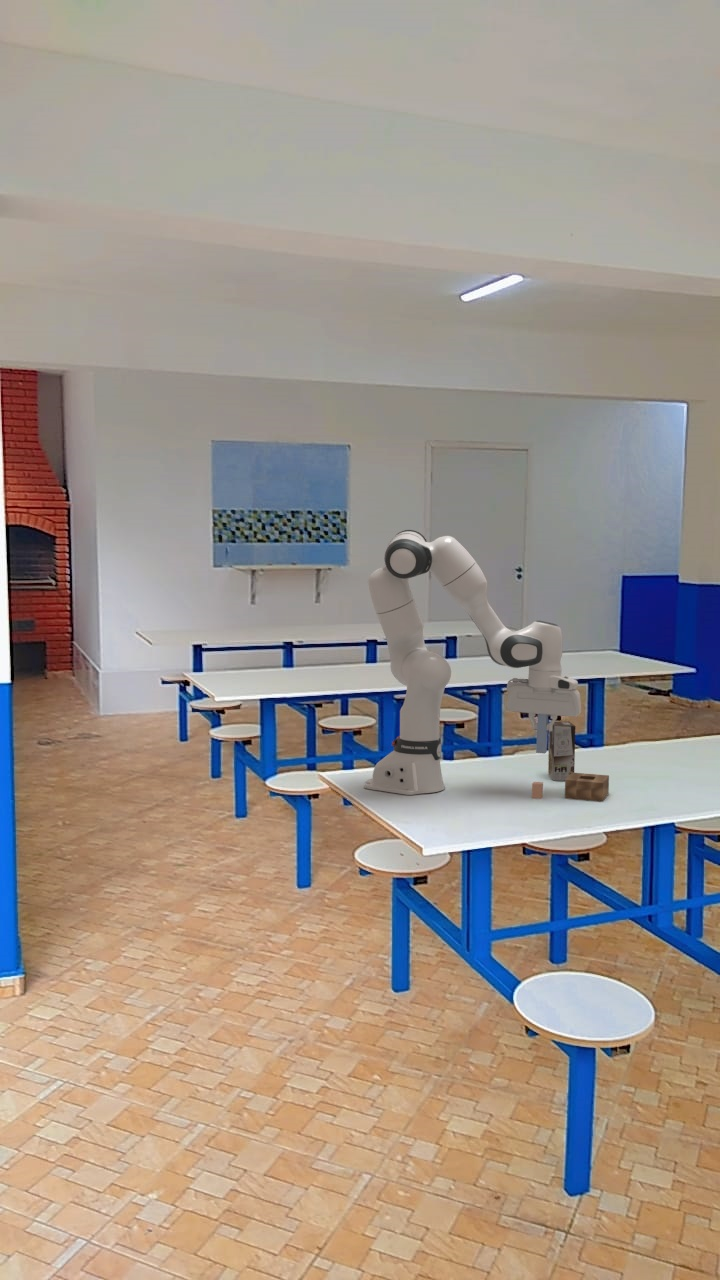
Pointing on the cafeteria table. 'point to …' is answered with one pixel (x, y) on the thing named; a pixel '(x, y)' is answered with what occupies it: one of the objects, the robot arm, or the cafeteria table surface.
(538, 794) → the short peg
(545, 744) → the long peg
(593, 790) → the hole block
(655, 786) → the cafeteria table surface
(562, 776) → the coffee box
